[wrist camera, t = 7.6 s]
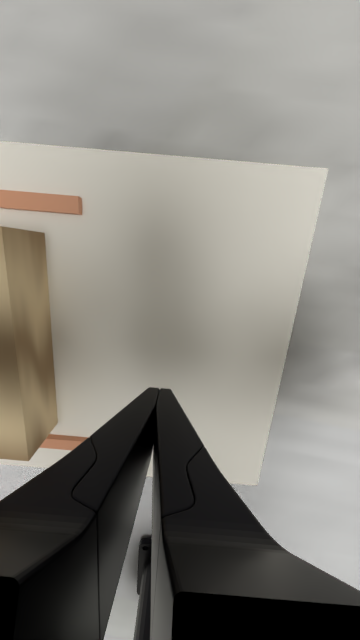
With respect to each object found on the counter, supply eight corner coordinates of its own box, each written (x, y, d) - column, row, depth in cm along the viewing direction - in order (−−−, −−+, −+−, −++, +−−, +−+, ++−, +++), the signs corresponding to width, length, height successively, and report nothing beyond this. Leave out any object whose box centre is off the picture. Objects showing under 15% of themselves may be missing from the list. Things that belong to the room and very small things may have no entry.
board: (255, 479, 17) (259, 491, 16) (-151, 445, 17) (-169, 455, 16) (322, 172, 12) (333, 165, 11) (-273, 122, 12) (-310, 111, 11)
